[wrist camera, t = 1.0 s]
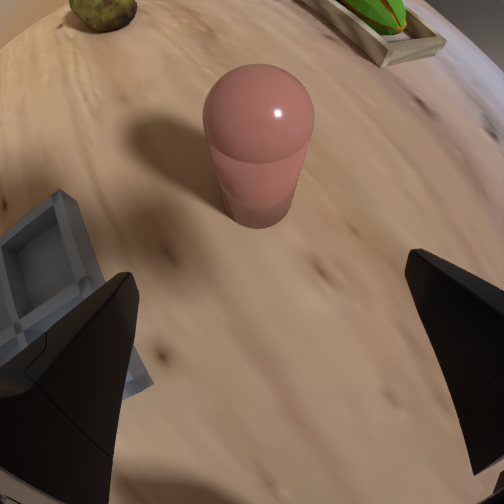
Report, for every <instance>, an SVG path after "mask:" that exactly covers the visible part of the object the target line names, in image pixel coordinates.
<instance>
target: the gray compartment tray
mask: <svg viewBox="0 0 504 504" xmlns="http://www.w3.org/2000/svg"><path fill="white" fill-rule="evenodd" d="M103 284H105V280H104V278H103V275H102V273H101V270H100V268H99V265H98V262H97V260H96V257H95V254H94V251H93V249H92V246H91V243H90V240H89V237H88V234H87V231H86V228H85V225H84V222H83V219H82V216H81V213H80V210H79V206H78V203H77V201H76V200H74V199H73V198H71V197H70V196H69V195H67V194H66V193H65V192H63V191H62V190H61V189H59V190H58V191H57V192H55V193H54V194H52V195H51V196H50V197H48V198H47V199H46V200H44V201H43V202H42V203H40V204H39V205H38V206H37V207H35V208H34V209H33V210H31V211H30V212H29V213H28V214H26V215H25V216H24V217H23V218H21V219H20V220H19V221H18V222H17V223H15V224H14V225H13V226H12V227H11V228H9V229H8V230H7V231H6V232H5V233H4V234H3V235H1V236H0V367H1V366H2V365H3V364H5V363H6V362H7V361H9V360H10V359H11V358H13V357H14V356H15V355H16V354H18V353H19V352H20V351H22V350H23V349H24V348H26V347H27V346H28V345H29V344H31V343H32V342H33V341H34V340H35V339H37V338H38V337H39V336H40V335H41V334H42V333H44V332H45V331H46V332H47V329H49V328H50V327H51V326H52V325H53V324H55V323H56V322H57V321H58V320H59V319H61V318H62V317H63V316H64V315H66V314H67V313H68V312H69V311H70V310H72V309H73V308H74V307H75V306H77V305H78V304H79V303H80V302H82V301H83V300H84V299H85V298H87V297H88V296H89V295H91V294H92V293H93V292H94V291H96V290H97V289H98V288H100V287H101V286H102V285H103ZM153 384H154V383H153V381H152V379H151V378H150V376H149V374H148V372H147V370H146V368H145V367H144V365H143V363H142V361H141V359H140V357H139V355H138V353H137V351H136V349H135V347H134V345H133V348H132V352H131V357H130V362H129V366H128V371H127V376H126V381H125V386H124V392H123V397H122V400H123V399H126V398H128V397H130V396H132V395H135V394H137V393H139V392H141V391H143V390H144V389H146V388H148V387H149V386H151V385H153Z"/></svg>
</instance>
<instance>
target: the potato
mask: <svg viewBox="0 0 504 504" xmlns="http://www.w3.org/2000/svg"><path fill="white" fill-rule="evenodd" d="M69 5H70V8H71V9H72V11H73V12H74V13H75V15H76V16H77V17H78V18H80V19H81V20H83V21H84V23H85V24H86V25H87V26H89V27H91V28H93V29H96V30H112V29H115V28H120V27H122V26H125V25H126V24H128V23H129V22H130V21H132V20H133V18H134V17H135V15H136V11H137V3H136V2H135V0H69Z"/></svg>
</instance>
